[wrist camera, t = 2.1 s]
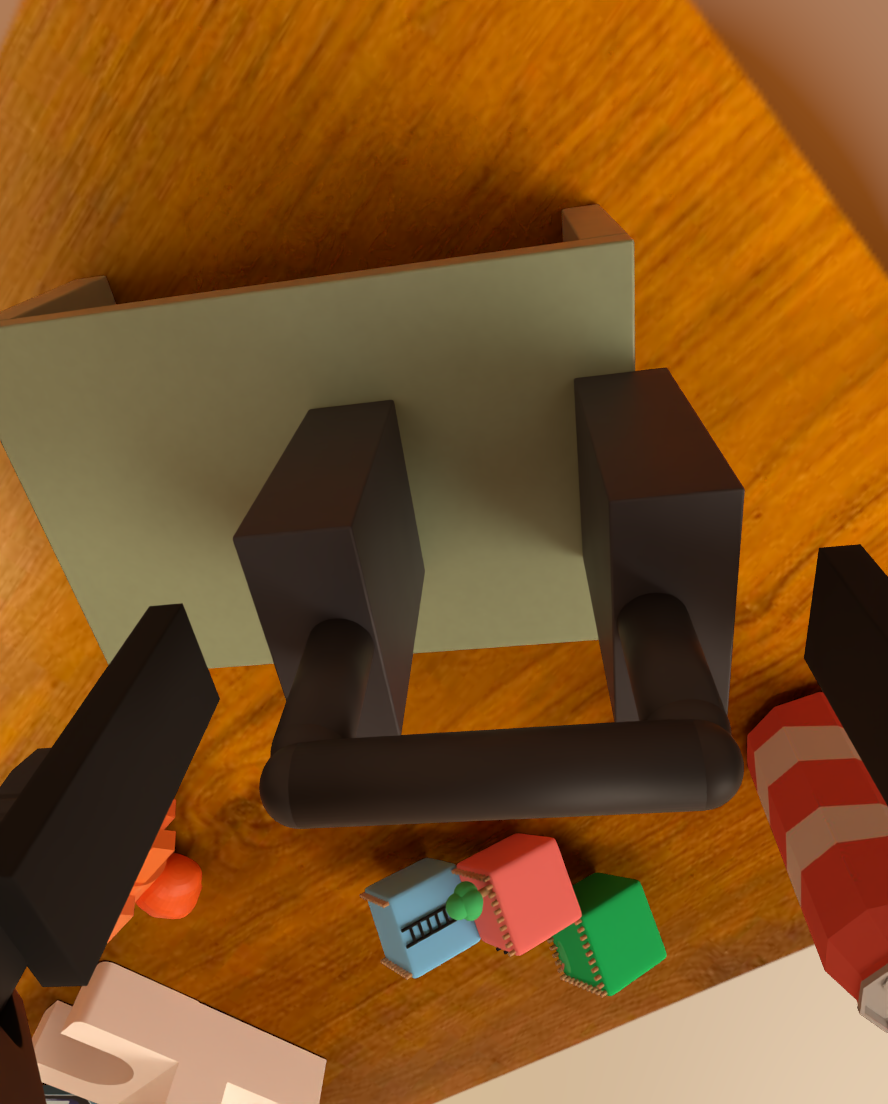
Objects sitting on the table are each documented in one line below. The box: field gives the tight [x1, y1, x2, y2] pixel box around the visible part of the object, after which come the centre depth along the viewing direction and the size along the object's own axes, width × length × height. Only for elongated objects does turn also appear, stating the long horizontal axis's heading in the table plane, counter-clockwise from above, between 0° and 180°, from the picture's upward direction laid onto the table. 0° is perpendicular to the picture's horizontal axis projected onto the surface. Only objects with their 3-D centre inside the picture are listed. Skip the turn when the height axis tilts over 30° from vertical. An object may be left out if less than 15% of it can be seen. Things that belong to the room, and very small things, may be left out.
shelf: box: [0, 204, 635, 668], centre depth 25 cm, size 12×18×7 cm, turn 98°
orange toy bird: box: [107, 799, 202, 943], centre depth 40 cm, size 5×8×12 cm
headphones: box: [233, 368, 745, 829], centre depth 16 cm, size 6×10×11 cm, turn 98°
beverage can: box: [747, 692, 888, 1033], centre depth 30 cm, size 6×6×12 cm
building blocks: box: [360, 833, 666, 997], centre depth 38 cm, size 8×8×12 cm
